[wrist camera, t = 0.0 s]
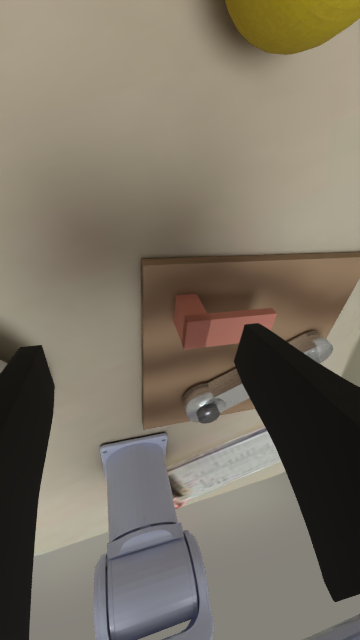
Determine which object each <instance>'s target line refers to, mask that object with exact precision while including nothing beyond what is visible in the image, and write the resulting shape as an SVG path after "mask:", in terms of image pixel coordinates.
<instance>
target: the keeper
mask: <svg viewBox="0 0 360 640" xmlns="http://www.w3.org/2000/svg"><path fill="white" fill-rule="evenodd" d="M276 315H277V313H276V312H275V310H274V309H273V308H265V309H253V310H242V311H230V312H219V313H208V314H207V312H206V310H205V308H204V306H203V305H202V303H201V301H200V299H199V297H198V296H197V294H188V295H176V301H175V312H174V324H175V327H176V330H177V332H178V335H179V338H180V340H181V343H182V346H183V348H184V350H187V349H196V348H204V347H212V346H220V345H229V344H237V343H239V342H240V338H241V335H242V332H243V328H244V325H245V324H253V323H260V324H261V325H263V326H264V327H266V328H268V329H269V330H271V329H272V326H273V323H274V321H275V318H276Z"/></svg>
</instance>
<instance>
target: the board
mask: <svg viewBox="0 0 360 640" xmlns="http://www.w3.org/2000/svg"><path fill="white" fill-rule="evenodd" d="M359 278H360V252H341V253H310V254H279V255H248V256H217V257H187V258H156V259H141V296H142V422H143V429H144V430H145V429H150V428H156V427H161V426H166V425H171V424H177V423H182V422H187V421H191V420H189V418H188V416H187V413H186V410H185V406H184V403H183V397H184V395H185V393H186V392H187V391H188V390H189V389H191V388H192V387H194V386H196V385H199V384H203V383H209V382H211V381H213V380H215V379H217V378H219V377H220V376H222V375H224V374H226V373H228V372H230V371H232V370H234V369H236V366H235V363H234V359H235V355H236V352H237V349H238V345H239V343H237V344H229V345H220V346H212V347H204V348H196V349H187V350H184V348H183V346H182V343H181V340H180V338H179V335H178V332H177V330H176V327H175V324H174V312H175V301H176V295H188V294H197V296H198V297H199V299H200V301H201V303H202V305H203V306H204V308H205V310H206V312H207V314H208V313H219V312H230V311H242V310H253V309H265V308H273V309H274V310H275V312H276V313H277V315H276V318H275V321H274V323H273V326H272V329H271V331H272V332H274V333H275V334H276V335H278V336H279V337H281V338H282V339H284V340H285V341H287V342H289V341H291V340H293V339H295V338H297V337H299V336H301V335H303V334H305V333H307V332H310V331H317V332H319V333H320V334H321V335H322V336H323V337H324V338H325V339H326V338H327V336H328V334H329V332H330V331H331V329H332V327H333V325H334V323H335V322H336V320H337V318H338V316H339V314H340V313H341V311H342V309H343V307H344V305H345V304H346V302H347V300H348V298H349V296H350V295H351V293H352V291H353V289H354V287H355V286H356V284H357V282H358V280H359ZM250 409H255V407H254V405H253V403H252V401H251V400H250V398H249V399H247V400H245V401H243V402H241V403H239V404H237V405H235V406H233V407H230V408H228V409H226V410H224V411H223V412H222V413H221V414H220V415H224V414H229V413H235V412H240V411H245V410H250Z"/></svg>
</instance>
